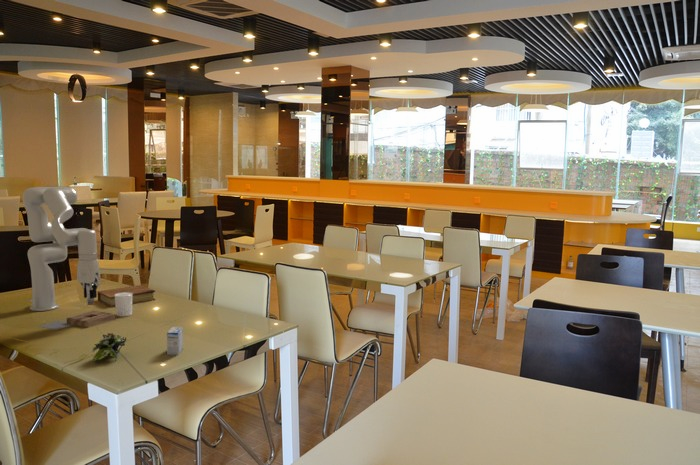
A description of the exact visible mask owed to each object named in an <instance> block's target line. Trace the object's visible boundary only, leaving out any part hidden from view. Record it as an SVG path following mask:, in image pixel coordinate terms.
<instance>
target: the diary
mask: <svg viewBox="0 0 700 465" xmlns="http://www.w3.org/2000/svg"><path fill="white" fill-rule="evenodd" d="M96 292H97V301H98V302H100V303H102V304H103V305H106V307H107V306H108V307H109V308H116V306H115V294H117V293H125V292H128V293H132V305H133V304H138V303H145V302H146V303H147V302H152V300H153V301H156V298H154V293H155V292H156V290H154V289H152V288H149V287H147V286H145V285H142V284H139V285H133V286H125V287H117V288H112V289H111V288H110V289H105V290H98V291H96Z"/></svg>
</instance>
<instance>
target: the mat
mask: <svg viewBox="0 0 700 465" xmlns="http://www.w3.org/2000/svg"><path fill="white" fill-rule="evenodd" d="M72 326H75V325H74V324H69V323H67V321H62V320H55V321H52V322H48V323H44V324H42V325H41V324H40V325H38V327H39V328H45V329H48V330H49V329H50V330H54V331H57V330H61V329H65V328H68V327H72Z"/></svg>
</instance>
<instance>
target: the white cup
mask: <svg viewBox="0 0 700 465" xmlns="http://www.w3.org/2000/svg"><path fill="white" fill-rule="evenodd" d="M115 311H116V312H115V313H116V317H121V318H122V317H130V316H131V315H133V304H132V293H128V292H125V293H117V294H115Z"/></svg>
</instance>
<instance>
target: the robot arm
mask: <svg viewBox="0 0 700 465" xmlns="http://www.w3.org/2000/svg"><path fill="white" fill-rule="evenodd" d="M77 201H78V194H77V192H76V190H75V189H74V188H73V187H70V186H36V187H35V186H33V187H29V188H26V189H25V190H24V191H23V194H22V202H23V208H24V209H25V211H26V215H27V223H28V233H29V237H30V240H31V242H33V243H43V242H44V243H45V242H52V243H46V244H37V245H34V246H31V247H30V248H29V249H28V250H27V259H28V262H29V266H30V276H31V289H32V299H30V300H29V302H30V303H32V305H31V306H29V310H30V311H32V312H45V311H52V310H56V309H58V308H59V306H60V305H59V303H56V298H55V276H54V271H53V269H52V268H51V267H50V266H49V265H48V264H53V263H55V264H56V263H62V262H64V261H66V259H67V257H68V247H72V246H77V250H78V261H77V266H76V280H77V282H78V283H79V284H80V285H81V286H82V289H83V298H85V299H87V293H86V283H88V284H90V289H91V290H89V293H90V299H93V298H94V299H96V298H98V294H97V292H98V291H97V289H98V287H99V286H100V285H101V272H100V266H99V265H100V264H99V260H98V247H97V246H98V244H97V232H96V230H95V229H88V228H85V227H79V228H67V229H66V228H65V225H63V223H65V222H66V221H68V220H69V219H71V218H72V217H73V216H74V209H73V207H72V206H71V205H74V204H76V203H77ZM43 205H45V206H46V205H47V207H48V209H49V210H50V212H51V214H52V215H53V218H52V221H49V219H48V218H49V217H48V212H47V210H46V209H45V208H44V207H43Z"/></svg>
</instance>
